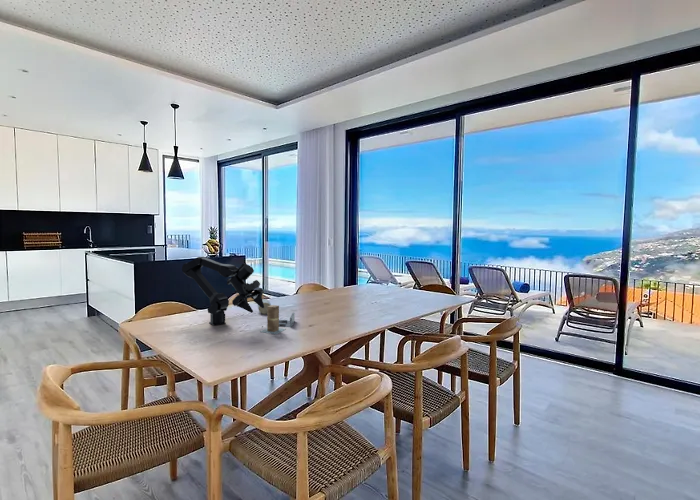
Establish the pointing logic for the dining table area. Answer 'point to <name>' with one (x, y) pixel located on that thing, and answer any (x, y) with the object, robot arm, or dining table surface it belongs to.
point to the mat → (273, 332)
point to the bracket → (287, 322)
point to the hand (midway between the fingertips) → (258, 309)
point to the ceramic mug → (266, 304)
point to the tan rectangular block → (273, 318)
